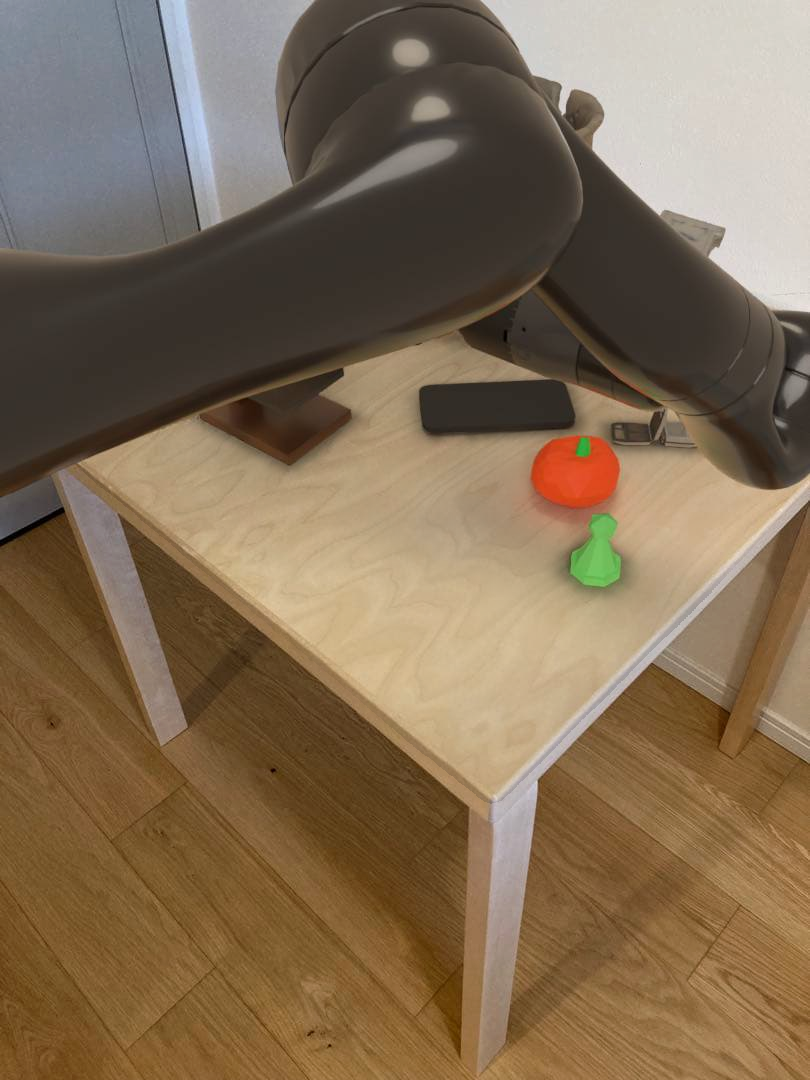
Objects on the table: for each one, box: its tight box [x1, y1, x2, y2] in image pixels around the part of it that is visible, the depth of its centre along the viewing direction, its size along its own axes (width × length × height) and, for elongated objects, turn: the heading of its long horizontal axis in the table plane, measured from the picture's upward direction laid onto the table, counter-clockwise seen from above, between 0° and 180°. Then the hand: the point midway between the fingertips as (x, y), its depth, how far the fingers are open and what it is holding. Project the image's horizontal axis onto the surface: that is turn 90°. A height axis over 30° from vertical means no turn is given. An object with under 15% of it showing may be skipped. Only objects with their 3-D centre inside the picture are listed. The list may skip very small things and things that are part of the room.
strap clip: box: [610, 407, 697, 449], centre depth 84 cm, size 8×3×4 cm, turn 85°
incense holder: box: [659, 209, 727, 258], centre depth 97 cm, size 10×8×10 cm
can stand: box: [199, 367, 353, 466], centre depth 86 cm, size 12×9×10 cm
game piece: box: [569, 512, 622, 588], centre depth 72 cm, size 4×4×6 cm
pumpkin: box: [529, 434, 621, 509], centre depth 78 cm, size 7×8×6 cm
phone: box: [418, 378, 576, 434], centre depth 89 cm, size 7×1×15 cm
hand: (363, 250), depth 68 cm, fingers open, 8 cm apart
